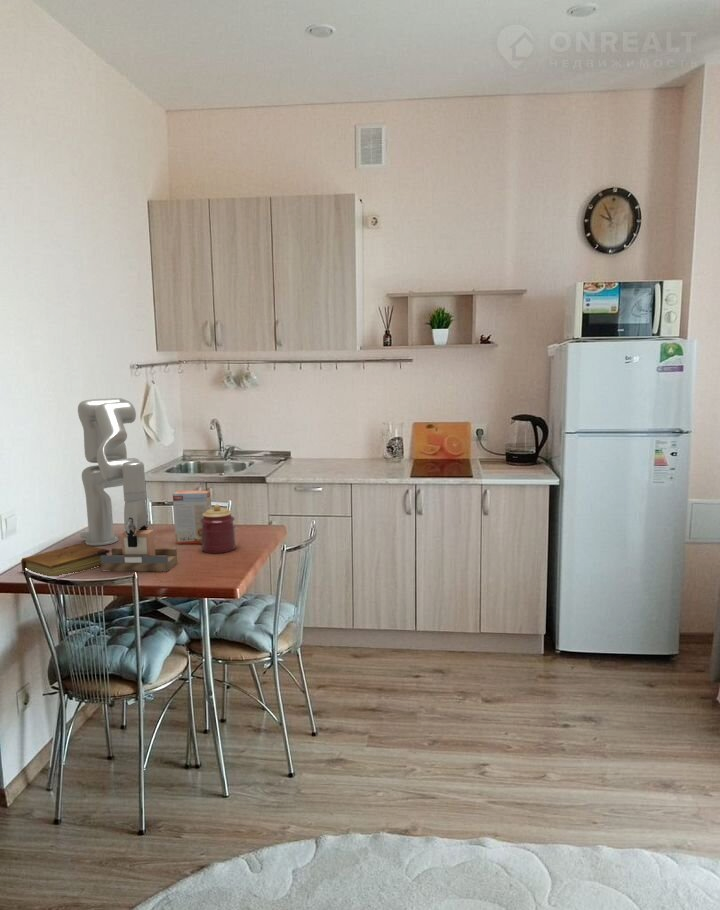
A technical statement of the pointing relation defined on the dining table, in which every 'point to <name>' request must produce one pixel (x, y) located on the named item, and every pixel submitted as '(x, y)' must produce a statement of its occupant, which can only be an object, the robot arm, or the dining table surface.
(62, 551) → the diary
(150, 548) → the carton
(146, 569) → the wooden storage tray
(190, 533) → the cracker box
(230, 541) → the canister
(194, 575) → the dining table surface
